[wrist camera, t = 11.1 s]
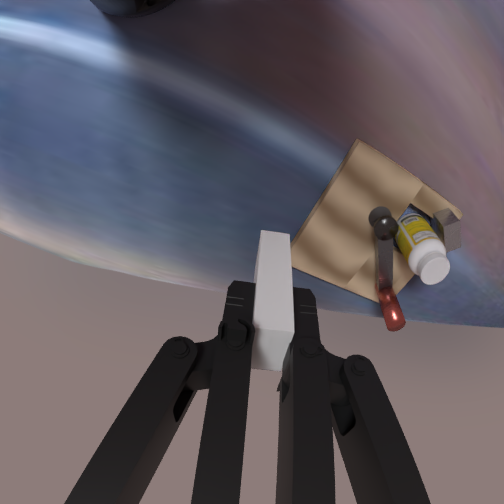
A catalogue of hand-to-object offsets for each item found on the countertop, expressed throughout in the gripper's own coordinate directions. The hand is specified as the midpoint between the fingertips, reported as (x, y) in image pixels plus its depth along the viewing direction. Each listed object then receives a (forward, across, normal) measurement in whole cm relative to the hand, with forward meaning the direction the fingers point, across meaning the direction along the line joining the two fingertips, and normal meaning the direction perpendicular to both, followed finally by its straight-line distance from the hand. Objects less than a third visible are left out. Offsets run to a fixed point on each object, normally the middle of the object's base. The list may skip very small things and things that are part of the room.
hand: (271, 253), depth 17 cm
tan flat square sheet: (+26, +18, -12) cm, 34 cm away
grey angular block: (+26, +28, -8) cm, 40 cm away
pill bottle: (+27, +24, -10) cm, 37 cm away
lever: (+24, +20, -15) cm, 34 cm away
